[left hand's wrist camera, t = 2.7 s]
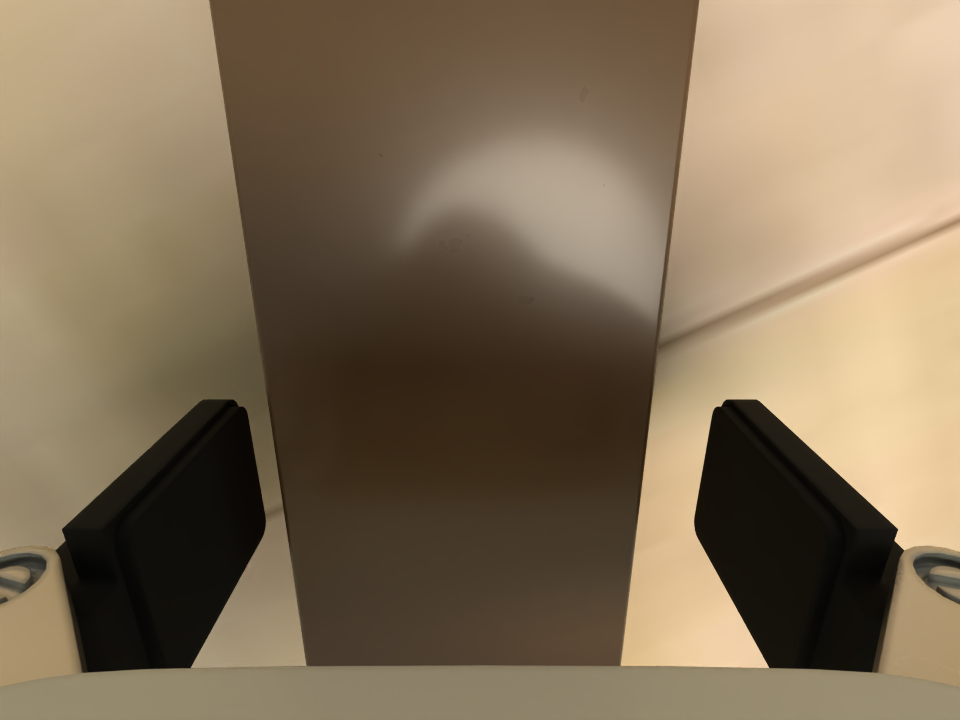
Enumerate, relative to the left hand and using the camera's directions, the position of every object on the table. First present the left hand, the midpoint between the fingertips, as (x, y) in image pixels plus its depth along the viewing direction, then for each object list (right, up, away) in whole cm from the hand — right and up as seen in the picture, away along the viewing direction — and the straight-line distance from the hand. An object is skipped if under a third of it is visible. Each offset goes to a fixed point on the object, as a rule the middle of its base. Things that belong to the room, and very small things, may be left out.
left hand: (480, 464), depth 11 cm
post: (0, +19, -3) cm, 19 cm away
